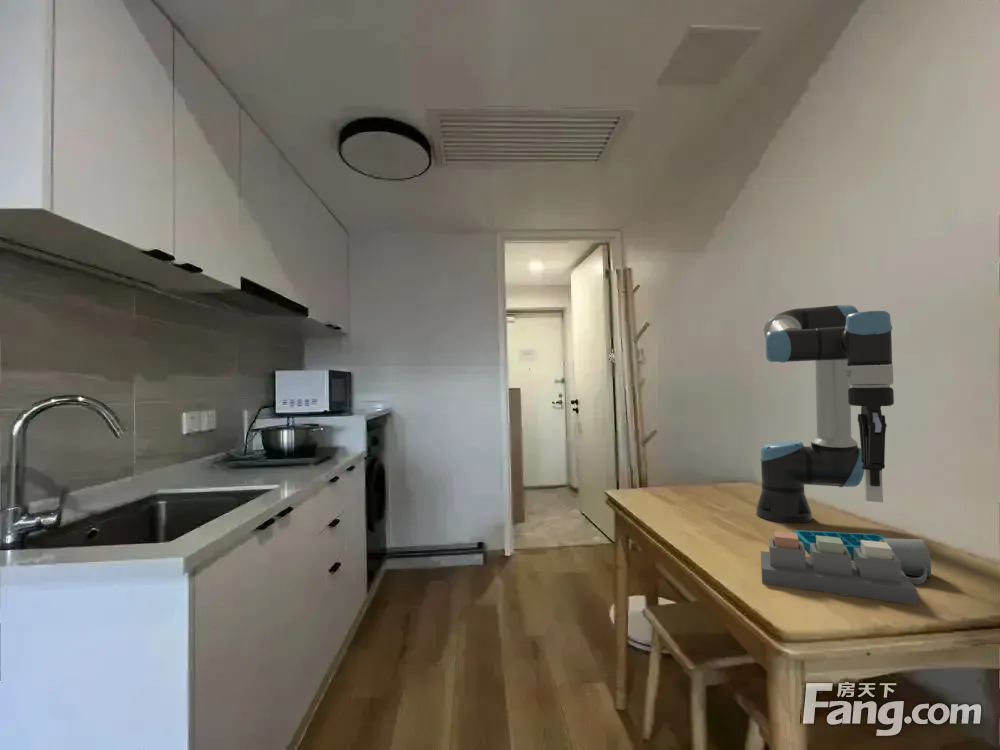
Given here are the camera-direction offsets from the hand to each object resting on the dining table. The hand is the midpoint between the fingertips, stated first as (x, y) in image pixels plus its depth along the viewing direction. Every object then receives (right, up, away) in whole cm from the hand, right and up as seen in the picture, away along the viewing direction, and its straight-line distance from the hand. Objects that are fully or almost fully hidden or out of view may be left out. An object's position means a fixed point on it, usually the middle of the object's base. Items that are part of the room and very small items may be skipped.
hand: (874, 500), depth 101 cm
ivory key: (0, -13, 0) cm, 13 cm away
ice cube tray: (+10, -19, +23) cm, 31 cm away
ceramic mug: (+12, -18, +6) cm, 22 cm away
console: (-7, -18, +3) cm, 20 cm away
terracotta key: (-14, -14, +7) cm, 21 cm away
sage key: (-7, -14, +3) cm, 16 cm away
